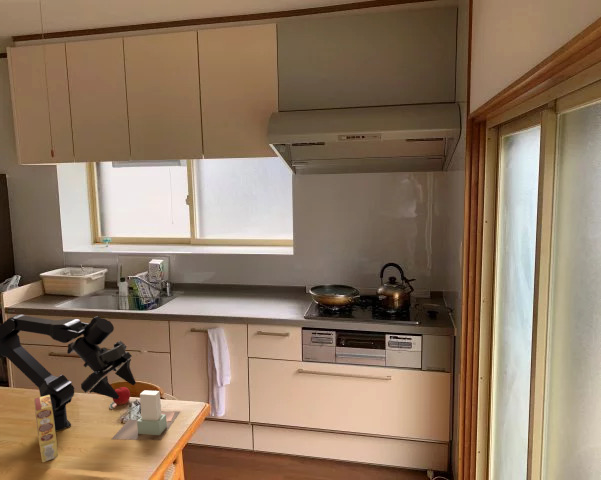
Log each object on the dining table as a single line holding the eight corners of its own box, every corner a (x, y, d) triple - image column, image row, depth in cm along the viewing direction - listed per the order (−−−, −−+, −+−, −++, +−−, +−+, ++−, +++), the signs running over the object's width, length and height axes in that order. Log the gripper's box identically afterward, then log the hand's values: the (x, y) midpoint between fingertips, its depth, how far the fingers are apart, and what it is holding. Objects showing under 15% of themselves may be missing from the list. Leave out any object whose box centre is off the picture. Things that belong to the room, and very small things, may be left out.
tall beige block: (142, 432, 135) (139, 394, 134) (147, 427, 138) (144, 390, 136) (158, 433, 134) (155, 395, 133) (162, 428, 137) (159, 391, 135)
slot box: (137, 433, 134) (136, 421, 134) (145, 425, 139) (144, 413, 138) (159, 435, 133) (158, 422, 133) (166, 426, 138) (166, 414, 137)
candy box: (58, 458, 125) (53, 405, 123) (41, 463, 123) (35, 410, 121) (55, 443, 132) (50, 393, 131) (39, 448, 130) (33, 398, 128)
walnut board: (111, 442, 132) (111, 438, 132) (136, 413, 148) (136, 410, 148) (161, 443, 131) (160, 439, 131) (180, 414, 147) (180, 411, 147)
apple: (104, 410, 151) (103, 392, 150) (117, 399, 159) (115, 381, 158) (127, 411, 150) (125, 393, 149) (138, 400, 158) (137, 382, 157)
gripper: (88, 347, 125) (126, 388, 125) (124, 326, 144) (158, 362, 143) (64, 372, 128) (102, 412, 127) (103, 348, 146) (136, 383, 146)
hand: (126, 391), depth 136 cm, fingers open, 9 cm apart
